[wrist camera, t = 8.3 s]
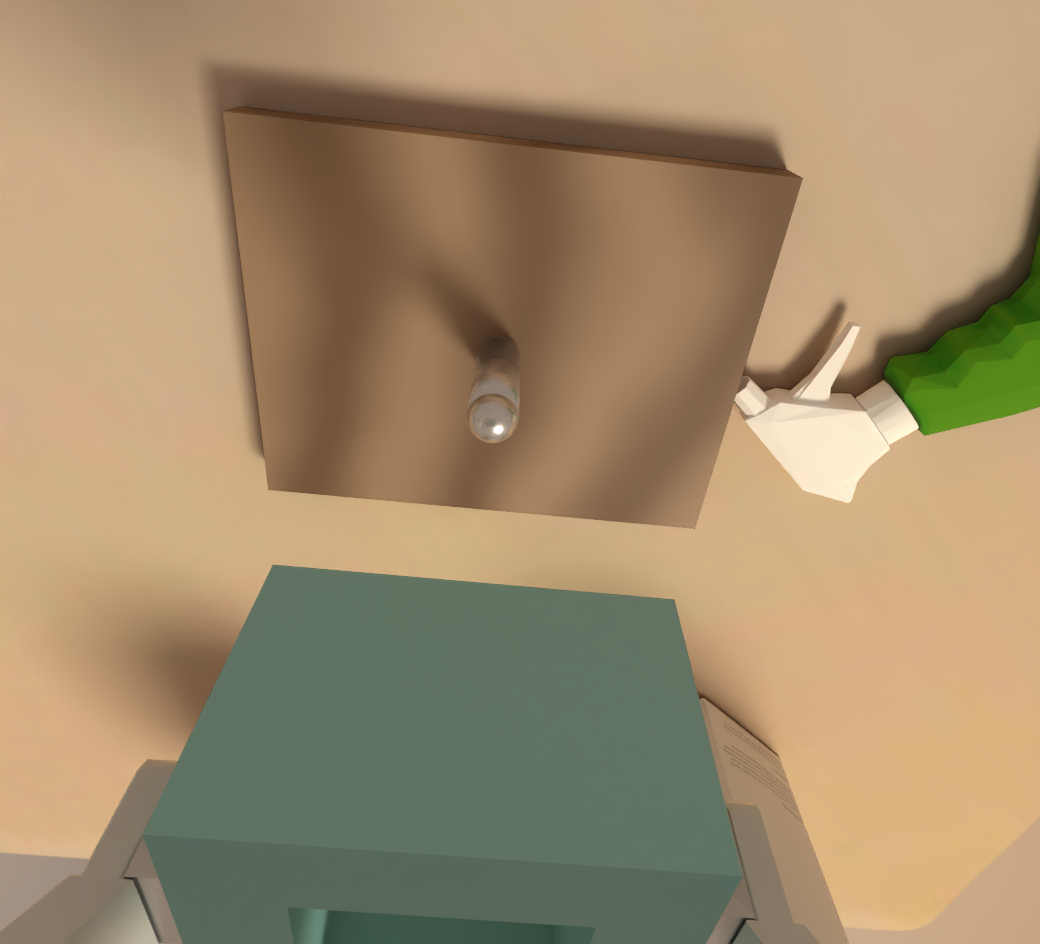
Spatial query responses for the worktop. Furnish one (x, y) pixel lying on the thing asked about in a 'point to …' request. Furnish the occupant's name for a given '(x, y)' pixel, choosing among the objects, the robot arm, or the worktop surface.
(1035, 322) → the spray bottle
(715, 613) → the worktop surface
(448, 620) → the teal square ring
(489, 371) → the clear glass vial
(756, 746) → the skincare box
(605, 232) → the walnut board
